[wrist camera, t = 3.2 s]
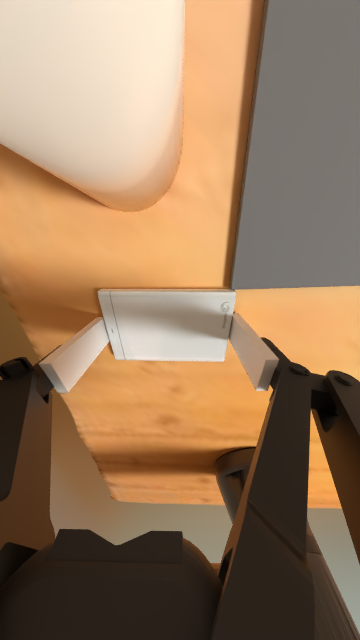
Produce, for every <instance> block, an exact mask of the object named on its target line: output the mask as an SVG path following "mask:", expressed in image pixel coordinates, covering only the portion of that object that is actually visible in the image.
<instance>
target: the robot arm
mask: <svg viewBox="0 0 360 640" xmlns="http://www.w3.org/2000/svg"><path fill="white" fill-rule="evenodd" d="M228 338H229V340H230V342H231V344H232V346H233V347H234V349H235V351H236V353H237V355H238V357H239V359H240V361H241V363H242V365H243V367H244V368H245V370H246V372H247V374H248V376H249V378H250V380H251V382H252V384H253V386H254V388H255V390H256V391H268V388H269V385H271V387H272V388H273V392H272V395H271V397H270V400H269V401H270V402H269V406H268V409H267V412H266V416H265V419H264V422H263V426H262V429H261V432H260V436H259V439H258V443H257V446H256V448H252V449H243V450H238V451H234V452H231V453H229V454H226V455H224V456H222V457H221V458H219V459H218V460H217V461H216V463H215V473H216V480H217V483H218V486H219V489H220V492H221V494H222V497H223V500H224V502H225V505H226V508H227V510H228V513H229V516H230V519H231V521H232V524H233V526H232V528H231V531H230V534H229V538H228V541H227V544H226V547H225V550H224V554H223V557H222V560H221V563H210V562H209V561H208V560H207V558H206V557H205V556H204V554H203V553H202V552H201V551H200V550H199V549H198V548H197V547H196V546H195V545H193V544H192V543H191V542H190V541H188V540H186V539H184V538H183V535H182V532H181V531H150V532H148V533H146V534H143V535H141V536H139V537H137V538H134V539H132V540H130V541H128V542H125V543H123V544H121V545H113V544H112V543H110V542H108V541H107V540H105V539H104V538H102V537H100V536H99V535H97V534H95V533H94V532H92V531H91V530H83V529H82V530H81V529H60V530H59V532H58V534H57V537H56V539H55V533H54V528H53V525H52V523H51V520H50V511H49V510H50V507H49V506H50V466H51V423H52V421H51V420H52V394H51V392H50V391H51V390H52V389H53V388H55V389H56V391H57V392H58V393H69V391H70V390H71V389H72V388H73V386H74V385H75V384H76V383H77V381H78V380H79V379H80V377H81V376H82V375H83V374H84V372H85V371H86V370H87V369H88V367H89V366H90V365H91V364H92V362H93V361H94V360H95V359H96V357H97V356H98V355H99V354H100V352H101V351H102V350H103V349H104V347H105V346H106V345H107V344H108V342H109V341H110V339H109V335H108V332H107V328H106V324H105V321H104V317H97V318H95V319H94V320H93V321H92V322H90V323H89V324H88V325H87V326H85V327H84V328H83V329H82V330H80V331H79V332H78V333H77V334H75V335H74V336H73V337H71V338H70V339H69V340H68V341H66V342H65V343H64V344H62V345H60V346H58V347H57V348H56V349H55V350H54V351H52V352H51V353H50V354H49V355H47V356H46V357H44V358H43V359H42V360H41V361H39V362H38V363H37V364H35V365H34V366H32V365H31V363H30V362H29V361H28V359H27V358H25V357H19V358H15V359H13V360H10V361H8V362H6V363H4V364H2V365H1V366H0V376H1V377H2V379H3V380H0V640H360V634H359V632H358V630H357V628H356V626H355V624H354V621H353V619H352V617H351V615H350V613H349V611H348V609H347V606H346V604H345V602H344V600H343V598H342V596H341V593H340V591H339V589H338V587H337V585H336V583H335V581H334V578H333V576H332V574H331V572H330V570H329V568H328V565H327V564H326V561H325V559H324V557H323V555H322V553H321V551H320V549H319V546H318V544H317V542H316V540H315V538H314V535H313V533H312V531H311V529H310V526H309V523H308V520H307V500H308V471H309V442H310V413H311V410H312V414H313V417H314V420H315V423H316V426H317V430H318V433H319V436H320V439H321V442H322V446H323V449H324V452H325V455H326V458H327V462H328V465H329V468H330V471H331V474H332V477H333V481H334V484H335V487H336V490H337V493H338V497H339V500H340V503H341V506H342V509H343V513H344V515H345V519H346V522H347V525H348V528H349V532H350V535H351V538H352V541H353V544H354V548H355V551H356V554H357V557H358V560H359V564H360V382H359V381H358V380H357V379H355V378H354V377H352V376H350V375H348V374H346V373H343V372H340V371H335V370H332V371H329V372H328V373H327V374H326V376H323V375H318V374H314V373H310V371H309V370H308V369H306V368H305V367H304V366H302V365H299V364H297V363H293V362H291V361H290V360H289V359H288V358H287V357H286V356H285V355H284V354H283V353H282V352H281V351H280V350H278V348H277V347H276V346H275V345H274V344H273V343H272V342H271V341H270V340H268V339H266V338H260V337H259V336H258V335H257V334H256V333H255V331H254V330H253V329H252V328H251V327H250V326H249V325H248V324H247V322H246V321H245V320H244V319H243V318H242V317H241V316H240V314H239V313H233V315H232V321H231V326H230V332H229V337H228Z"/></svg>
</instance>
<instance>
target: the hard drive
mask: <svg viewBox="0 0 360 640" xmlns="http://www.w3.org/2000/svg"><path fill="white" fill-rule="evenodd" d="M98 299H99V302H100V306H101V310H102V313H103V317H104V321H105V324H106V328H107V332H108V335H109V339H110V342H111V346H112V349H113V353H114V356H115V359H116V360H150V361H215V362H223V361H224V359H225V354H226V348H227V343H228V337H229V332H230V326H231V321H232V315H233V310H234V304H235V299H236V291H235V290H231V289H100V290H99V291H98Z"/></svg>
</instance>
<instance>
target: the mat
mask: <svg viewBox="0 0 360 640" xmlns="http://www.w3.org/2000/svg"><path fill="white" fill-rule="evenodd" d="M330 286H360V0H265V1H264V10H263V18H262V26H261V34H260V42H259V50H258V58H257V67H256V75H255V83H254V91H253V99H252V107H251V115H250V124H249V132H248V140H247V148H246V156H245V164H244V172H243V180H242V189H241V197H240V205H239V213H238V221H237V229H236V237H235V246H234V254H233V262H232V270H231V278H230V286H229V288H230V289H231V290H237V289H268V288H299V287H330Z"/></svg>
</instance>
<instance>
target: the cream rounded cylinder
mask: <svg viewBox="0 0 360 640" xmlns="http://www.w3.org/2000/svg"><path fill="white" fill-rule="evenodd" d="M184 25H185V0H0V144H2V145H3V146H5V147H7V148H9V149H10V150H12V151H14V152H15V153H17V154H19V155H20V156H22V157H24V158H26V159H27V160H29V161H31V162H32V163H34V164H36V165H37V166H39V167H41V168H43V169H44V170H46V171H48V172H49V173H51V174H53V175H54V176H56V177H58V178H60V179H61V180H63V181H65V182H66V183H68V184H70V185H71V186H73V187H75V188H77V189H78V190H80V191H82V192H83V193H85V194H87V195H88V196H90V197H92V198H94V199H95V200H97V201H99V202H100V203H102V204H104V205H106V206H108V207H110V208H112V209H115V210H118V211H123V212H136V211H141V210H144V209H147V208H148V207H150V206H152V205H154V204H155V203H156V202H158V201H159V200H160V199H161V198H162V197H163V196H164V194H165V193H166V192H167V190H168V189H169V187H170V185H171V184H172V182H173V180H174V178H175V175H176V173H177V170H178V167H179V163H180V159H181V154H182V146H183V125H184Z"/></svg>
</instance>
